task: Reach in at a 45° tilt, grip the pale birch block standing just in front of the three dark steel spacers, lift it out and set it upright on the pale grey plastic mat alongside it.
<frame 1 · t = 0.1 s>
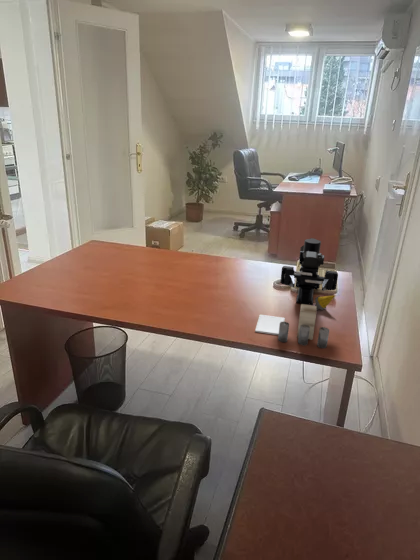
hand: (308, 287, 129), 17 cm above the table, fingers open, 9 cm apart
birch block: (304, 334, 134), on the table
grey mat: (270, 325, 139), on the table
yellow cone: (322, 309, 152), on the table
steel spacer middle: (302, 342, 129), on the table
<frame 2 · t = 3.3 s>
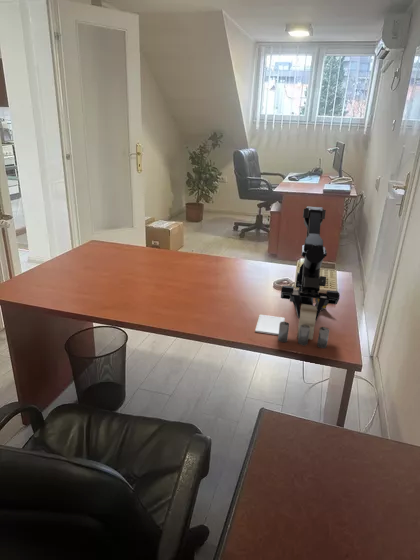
hand: (307, 319, 130), 7 cm above the table, fingers closed on birch block, 5 cm apart
birch block: (304, 334, 134), on the table, touching gripper
everything else where it was.
when the fingers open (9 cm above the table, at t = 8.0 s): birch block drops 1 cm, resting on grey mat.
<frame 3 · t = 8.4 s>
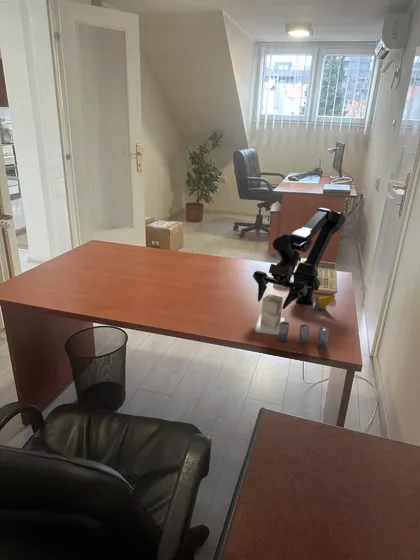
hand: (270, 304, 135), 9 cm above the table, fingers open, 9 cm apart
birch block: (270, 323, 139), point 1 cm above the table, touching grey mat
everything else where it was.
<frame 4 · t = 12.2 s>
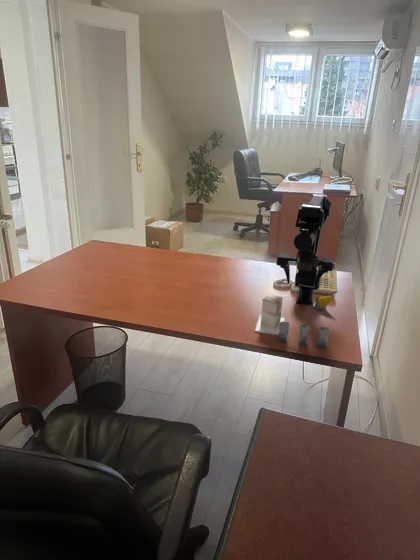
hand: (301, 284, 140), 13 cm above the table, fingers open, 9 cm apart
nothing on the table moved.
at the end: birch block inside the target area on the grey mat (0.0 cm from its centre), point 0.6 cm above the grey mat's base; birch block tilted 0°; the gripper is holding nothing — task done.
